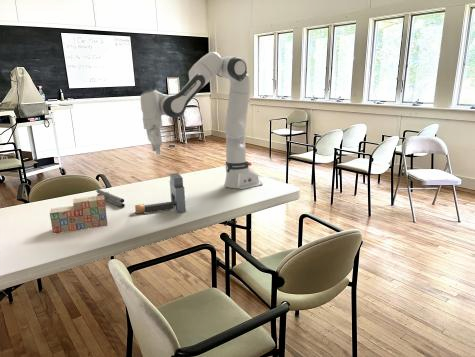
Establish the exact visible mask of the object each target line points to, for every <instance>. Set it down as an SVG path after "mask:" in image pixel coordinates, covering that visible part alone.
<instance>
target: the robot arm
mask: <svg viewBox="0 0 475 357" xmlns="http://www.w3.org/2000/svg"><path fill="white" fill-rule="evenodd" d="M247 69H248V68H247V63H246V61H245V59H243V58H241V57H240V56H233V55H229V56H228V55H227V56H221V55H220V54H219V53H218V52H216V51H210V52H208V53H206V54H205V55H203V56H202V57H200V59H198V60H197V61H196V62H195V63H194V64H193V65H192V66H191V67H190V69H189V71H188V78H189V80H188V82H187V83H186V84H185V85H184V86H183V87H182V89H181V90H180V91H179V92H178V93H176V94H174V95H168V94H164V93H162V92H160V91H159V90H157V89H149V90H146V91H143V92H141V94H140V110H141V112H142V123H143V124H142V125H143V129H144V130H146V135H147V139H148V141H149V142H150V143H151V144H150V145H151V146H152V147H151V148H152V151H153V152H155V154H156V155H160V154H161V146H163V139H162V132H161V129H162V128H163V121H162V120H163V119H162V116H166V117H170V118H173V119H176V118H180V117H182V115H183V114H184V113H185V111H186V108H187V106H188V104H189V102H191V100H193V98H194V97H195V96H196V95H197V94H198V93H199V92H200V91H201V89H202V88H204V87H205V86H206V85H207V84H208V83H210V82H211V81H212V80H213V79H214V77H215V76H218V77H220V78H225V79H229V84H230V87H229V91H228V92H229V94H228V99H227V100H228V101H227V109H226V116H225V125H224V126H225V127H224V131H225V155H226V156H225V157H226V158H225V159H226V160H225V172H226V173H225V180H224V181H225V182H224V187H226V188H230V189H239V190H245V189H248V188H254V187H259V186H263V185H264V183H263V181H262V180H261V179H260V178H259V175H258V173H257V172H256V171H255V170H254V169H252V168H251V166H252V162H250V161H247V160H246V127H247V126H246V125H247V117H248V116H247V115H248V108H249V100H250V90H251V80H250V79H251V78H250V75H249V73H248V71H247Z"/></svg>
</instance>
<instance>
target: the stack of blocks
mask: <svg viewBox="0 0 475 357" xmlns="http://www.w3.org/2000/svg"><path fill="white" fill-rule="evenodd" d="M72 200H73V201H72V205H70V206H62V207H53V208H50V210H49V218H50V224H51V229H52V234H53V235H54V233H55V234H60V233H61V232H63V233H68V232H75V231H81V229H82V230H87V229H88V228H89V229H94V228H102V227H108V218H107V209H106V208H107V207H106V206H107V205H106V201H105V200H104V195H103V196H97V195H92V196H86V197H79V198H78V197H77V198H73V199H72Z"/></svg>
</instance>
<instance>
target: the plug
mask: <svg viewBox="0 0 475 357" xmlns="http://www.w3.org/2000/svg"><path fill="white" fill-rule="evenodd" d="M134 209H135V214H143V213H146V214H147V213H155V212H163V211H169V210H174V209H175V205H173V202H171V201H166V202H165V201H164V202H158V203H151V204H144V203H139V204H135V206H134Z"/></svg>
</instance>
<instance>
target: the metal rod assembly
mask: <svg viewBox="0 0 475 357" xmlns="http://www.w3.org/2000/svg"><path fill="white" fill-rule="evenodd" d="M95 192H96V193H97V194H96V196H103V195H104V200H105V202H108V203H111V204H112V205H115V206H116V207H120V208H125V207H126V206H125V205H126V204H124V203H125V199H124V198H121V197H119V196H116V195H114V194H112V193H110V192H108V191H104V190H101V189H96V191H95Z"/></svg>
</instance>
